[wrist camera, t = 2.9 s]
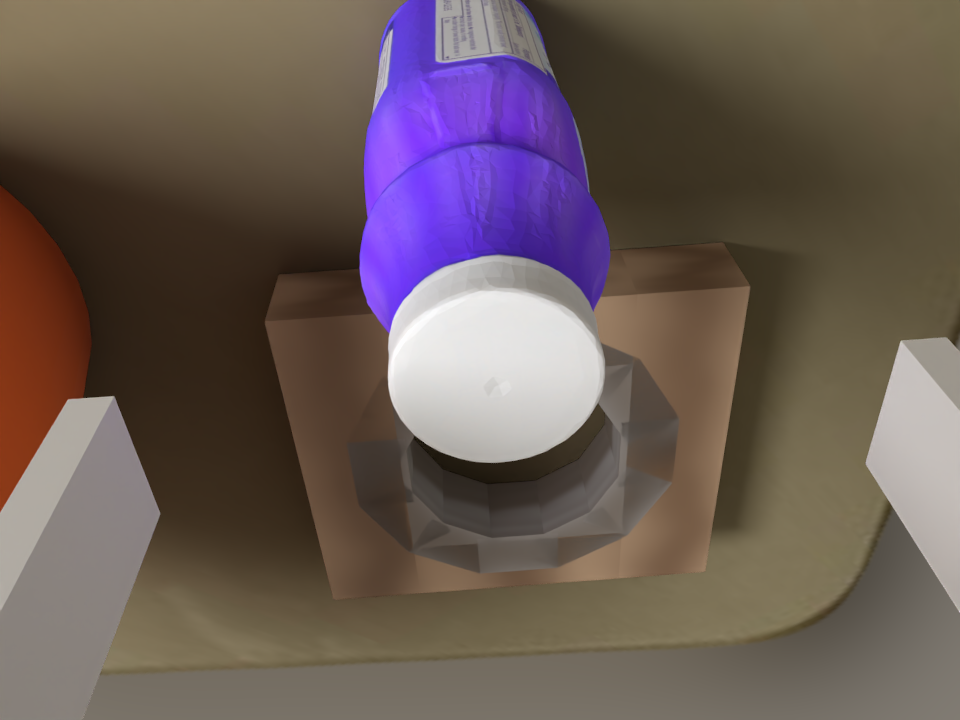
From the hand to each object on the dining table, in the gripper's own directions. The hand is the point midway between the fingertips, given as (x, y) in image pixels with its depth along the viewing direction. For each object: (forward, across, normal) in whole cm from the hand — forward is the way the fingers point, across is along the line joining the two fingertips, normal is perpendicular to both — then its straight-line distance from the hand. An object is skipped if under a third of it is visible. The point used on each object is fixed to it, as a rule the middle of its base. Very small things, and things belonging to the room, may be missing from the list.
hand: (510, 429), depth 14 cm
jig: (+19, +1, -15) cm, 24 cm away
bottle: (+19, 0, 0) cm, 19 cm away
